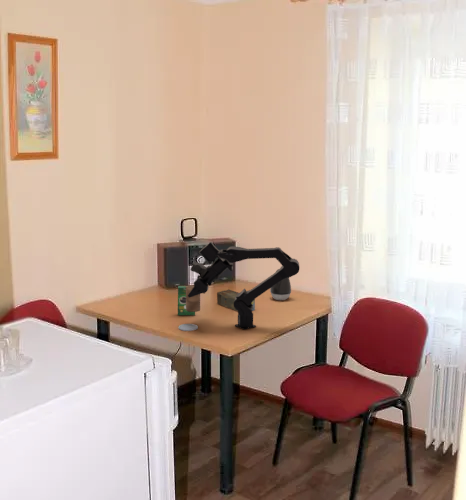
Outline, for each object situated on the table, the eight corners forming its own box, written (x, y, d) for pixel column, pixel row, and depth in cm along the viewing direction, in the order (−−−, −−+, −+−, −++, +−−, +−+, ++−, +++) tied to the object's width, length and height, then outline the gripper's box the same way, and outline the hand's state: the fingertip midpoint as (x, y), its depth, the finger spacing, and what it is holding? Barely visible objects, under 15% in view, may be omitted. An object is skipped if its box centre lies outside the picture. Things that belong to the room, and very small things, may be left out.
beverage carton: (242, 313, 281) (242, 299, 280) (216, 304, 296) (216, 291, 294) (255, 310, 286) (255, 296, 285) (229, 301, 301) (229, 288, 299)
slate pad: (201, 328, 260) (201, 327, 260) (185, 332, 255) (185, 331, 255) (190, 323, 266) (190, 322, 266) (174, 327, 261) (174, 326, 261)
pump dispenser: (290, 302, 299) (291, 271, 296) (269, 301, 301) (269, 270, 298) (292, 296, 309) (292, 266, 306) (271, 295, 310) (271, 266, 307)
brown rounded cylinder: (203, 309, 264) (203, 286, 262) (193, 312, 259) (192, 289, 257) (193, 306, 268) (193, 284, 266) (182, 309, 263) (182, 286, 261)
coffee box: (195, 313, 280) (195, 285, 278) (195, 315, 277) (195, 287, 275) (177, 313, 280) (177, 285, 277) (177, 315, 277) (177, 287, 274)
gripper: (205, 251, 268) (180, 275, 271) (198, 260, 249) (172, 286, 252) (223, 270, 268) (198, 293, 272) (218, 280, 250) (191, 306, 253)
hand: (189, 294), depth 262 cm, fingers closed on brown rounded cylinder, 6 cm apart
